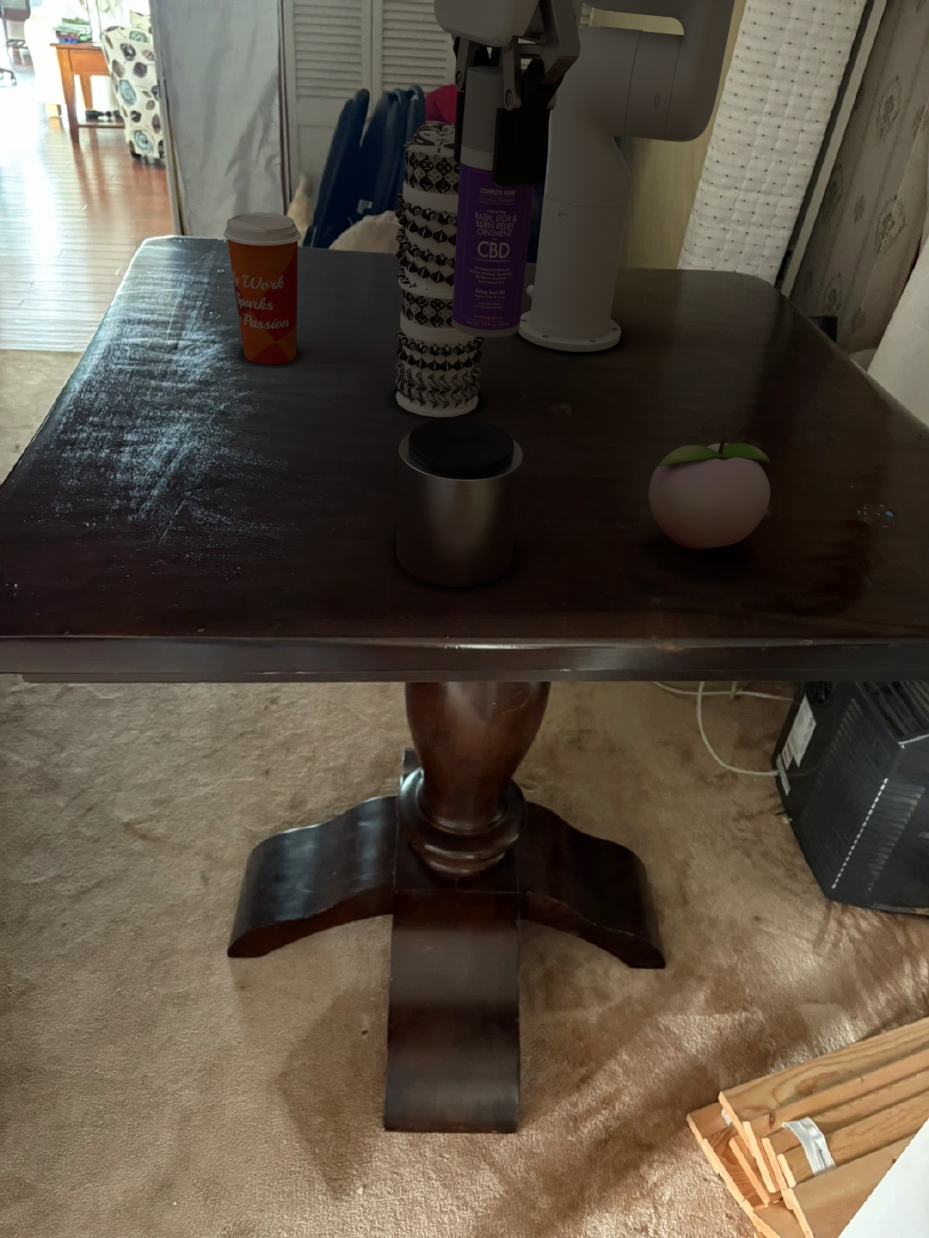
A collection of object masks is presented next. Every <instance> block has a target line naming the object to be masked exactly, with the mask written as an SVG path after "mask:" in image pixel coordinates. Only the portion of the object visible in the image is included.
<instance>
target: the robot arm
mask: <svg viewBox="0 0 929 1238" xmlns="http://www.w3.org/2000/svg"><path fill="white" fill-rule="evenodd" d="M735 3H736V0H433V15H434V18H435V21H436V23H437V25H438V26H439V27H440V28H441V29H442V30H443V31H444V32H445V33H447V34H450V36H451V39H452V42H453V44H452V52H453V53H454V56H455V60H456V63H455V64H456V65H455V70H454V87H455V89H456V90H457V91H456V100H455V103H456V104H455V121H454V122H455V123H454V124H455V140H454V160H455V162H457V163H458V164H460V159H461V146H462V134H463V121H464V108H465V95H466V82H467V69H468V68H470V67H475V66H501V67H503V79H504V104H505V108H497V113H496V127H495V141H494V154H493V168H492V181H493V182H494V183H495V184H497V185H499V186H514V185H534V186H535V185H539V184H541V183H542V182H543V180H544V174H545V180H544V190H543V200H542V209H541V219H540V220H541V221H540V228H539V238H538V247H537V256H536V265H535V275H534V284H530V285H528V286H527V287H526V290H525V291H526V294H527V296H529V297H530V298H531V305H530V310H527V311H526V312H523V313H521V320H520V328H519V330H518V331H517V333H518V334H519V335H520V336H521V337H522V338H523V339H524V340H526V341H528V342H530V343H532V344H534V345H536V346H539V347H542V348H546V349H550V350H554V351H561V352H570V353H593V352H599V351H604V350H607V349H611V348H612V347H615V346H616V345H617V344H618V343H619V342H620V339H621V335H622V328H621V327H620V325H619V324H618V323H617V322H616V321H615V320H613V319H611V316H612V309H613V302H614V297H615V291H616V283H617V278H618V274H619V273H618V272H619V266H620V260H621V255H622V248H623V241H624V235H625V229H626V222H627V216H628V211H629V203H630V197H631V190H632V178H631V172H630V169H629V166H628V164H627V162H626V159H625V158H624V156H623V154H622V152H621V150H620V148H619V147H618V145H617V143H616V141H615V139H614V138H616V137H617V138H619V137H620V138H627V137H630V138H636V139H646V140H655V141H664V142H673V143H686V142H691V141H694V140H696V139H697V138H699V137H701V135H703V133H704V132H705V130H706V129H707V127H708V125H709V123H710V121H711V117H712V116H713V112H714V109H715V105H716V100H717V96H718V91H719V87H720V82H721V76H722V70H723V65H724V60H725V55H726V50H727V44H728V38H729V34H730V29H731V25H732V18H733V13H734V9H735ZM584 5H586V6H588V7H590V8H593V9H596V10H600V11H607V12H613V13H623V14H632V15H643V16H651V17H662V18H669V19H670V18H672V19H674V20H677V21H678V22H679V23H680V25H681V27H682V30H683V34H679V33H678V34H676V33H667V32H657V31H645V30H643V29H635V28H634V29H633V28H623V27H622V28H621V27H615V26H614V27H612V26H601V25H600V26H597V25H594V26H592V25H591V26H583V27H580V23H581V18H582V12H583V7H584ZM519 39H520V40H524V41H527V42H519ZM488 48H491V50H490V54H489V51H488ZM522 60H530V61H529V63H528V65H527V66H526V67H525V69H526V70H525V72H524V74H523V75H522V76H521V69H522ZM546 155H547V158H546ZM545 165H546V171H545ZM545 172H546V173H545Z"/></svg>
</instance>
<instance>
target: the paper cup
mask: <svg viewBox="0 0 929 1238" xmlns="http://www.w3.org/2000/svg"><path fill="white" fill-rule="evenodd" d="M223 237H224V238H225V239H227V245H228V252H229V253H228V254H229V260H230V265H231V266H230V267H231V274H232V280H233V287H234V295H235V301H236V309H237V314H238V322H239V328H240V336H241V341H242V348H243V354H244V356H245V358H246V359H247V360H248V361H250V362H252V363H255V364H259V365H267V366H269V365H271V366H272V365H281V364H286V363H290V362H291V361H293V360H294V359H295V358H296V356H297V339H298V337H297V336H298V261H299V260H298V259H299V258H298V256H299V255H298V254H299V253H298V252H299V247H298V246H299V241H300V240H301V239H302V234H301V232H300V230H299V229H298V226H297V225H296V223H295V219H293V217H291V216H288V215H286V214H280V213H273V212H261V211H260V212H259V211H258V212H257V211H256V212H255V211H254V212H244V213H240V214H238V215H235V216H233V217H232V216H231V218H228V219H227V220H226V228H225V229H224V231H223Z"/></svg>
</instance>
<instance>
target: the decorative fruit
mask: <svg viewBox="0 0 929 1238" xmlns="http://www.w3.org/2000/svg"><path fill="white" fill-rule="evenodd" d="M727 437H728V436H727V435H725V434H723V435H722V436H721V438H720V442H718V443H713V444H710V445H707V446H705V445H700V444H687V445H684V446H680V447H678V448H677V449H673V451H671V452H670V453H668V454H667V455H666V456H665V457H664V458H663V459H662V460H661V461H660V463H658V465H657V466H656V468H655V469H654V471H653V473H652V475H651V477H650V481H649V484H648V504H649V508H650V512H651V514H652V516H653V518H654V520H655V522H656V524H657V526H658V527H659V529H661V531H662V532H663V533H664V534H665V535H666V536H667V537H668V538H669V539H670V540H671V541H673V542H674V543H676V544H678V545H680V546H682V547H685V548H689V549H693V550H705V549H706V550H707V549H713V548H721V547H727V546H730V545H734V544H736V543H738V542H740V541H743V540H745V539H746V538H747V537H748V536H750V535H751V534H752V533H753V532H754V531H755V529H756V528H757V527H758V525H759V524H760V523H761V522H762V520H763V518H764V516H765V514H766V512H767V510H768V507H769V504H770V500H771V486H770V481H769V479H768V476H767V474H766V472H765V471H764V468H763V467H762V465H761V464H760V462H759V461H763V462H765V463H767V464H771V460H770V458H769V457H768V455H767V454H766V453H764V451H762V450H761V449H760V448H758V447H756V446H754V445H751V444H748V443H742V442H734V443H733V442H731V443H727Z"/></svg>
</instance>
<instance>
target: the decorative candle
mask: <svg viewBox="0 0 929 1238" xmlns="http://www.w3.org/2000/svg"><path fill="white" fill-rule="evenodd" d="M454 140H455V123H446V122H444V123H443V122H442V123H441V122H439V123H438V122H436V123H434V122H433V123H427V124H422V125H421V126H419V128H417V130H415V131H414V133H413V135H412V137H411V138H410V140H409V141H406V142H405V143H403V144H402V146H403V147H404V149H405V171H404V173H405V174H404V181H403V183H402V191H401V192H400V191H398V192H397V195H395V197H394V198H395V200H396V201H397V202H398V206H397V207H396V209H395V211H394V217H396V218H397V223H398V224H399V225H401V226H400V227H399V228H398V229H397V234H396V236H395V239H396V241H397V242H398V245H399V246H398V250H396V252H395V257H396V258H397V259H398V264H399V265H400V267H399V269H398V273H397V274H396V279H397V283H398V285H399V286H400V288H401V289H402V302H401V303H402V304H401V311H400V312H399V313H400V317H399V318H400V319H399V328H398V331H397V332H396V333H395V336H396V338H397V339H398V346H396V349H395V352H396V354H398V358H399V359H398V360H397V362H396V364H395V367H394V370H395V372H396V374H397V377H396V379H395V381H394V384H395V385H394V386H395V387H396V388H397V392H396V394H395V399H396V401H397V405H399V406H400V407H402V408H403V409H405V410H406V411H407V412H409V413H414V414H416V415H420V416H423V417H424V416H425V417H431V418H451V417H458V416H462V415H466V414H468V413H470V412H471V411H474V410H475V409H476V408H477V405H478V402H479V398H478V393H479V390H480V388H481V384H480V383H479V382H478V381H479V380H480V375H481V374H482V369H481V368H480V367H479V363H480V362H481V358H482V357H483V352H482V350H480V348H481V347H482V346H483V345H482V343H483V342H484V339H485V337H478V336H473V335H469V334H465V333H463V332H460V331H458V330H457V329H455V328H454V327H453V325H452V305H453V286H454V268H455V249H456V230H457V212H458V193H459V174H460V164H458V163H457V162H455V160H454Z"/></svg>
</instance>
